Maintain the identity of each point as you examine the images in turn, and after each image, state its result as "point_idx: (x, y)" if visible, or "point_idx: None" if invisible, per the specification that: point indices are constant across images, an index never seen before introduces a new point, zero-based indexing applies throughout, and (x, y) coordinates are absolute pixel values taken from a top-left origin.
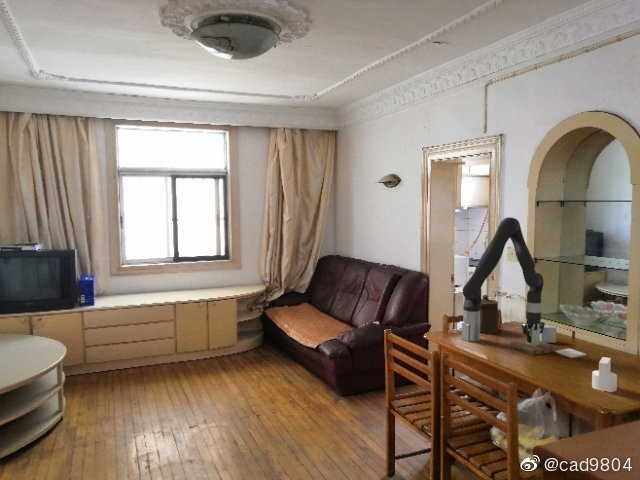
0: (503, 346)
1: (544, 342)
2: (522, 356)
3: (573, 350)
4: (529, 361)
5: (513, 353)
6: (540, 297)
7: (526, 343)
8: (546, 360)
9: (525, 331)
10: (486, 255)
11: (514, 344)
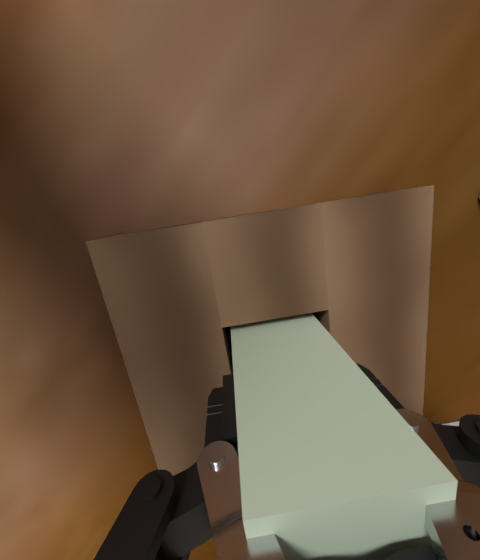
0: (37, 218)
1: (424, 339)
2: (85, 472)
3: None
4: (84, 548)
5: (47, 410)
6: None
7: (231, 334)
8: (200, 545)
9: (157, 544)
10: None
11: (110, 300)
